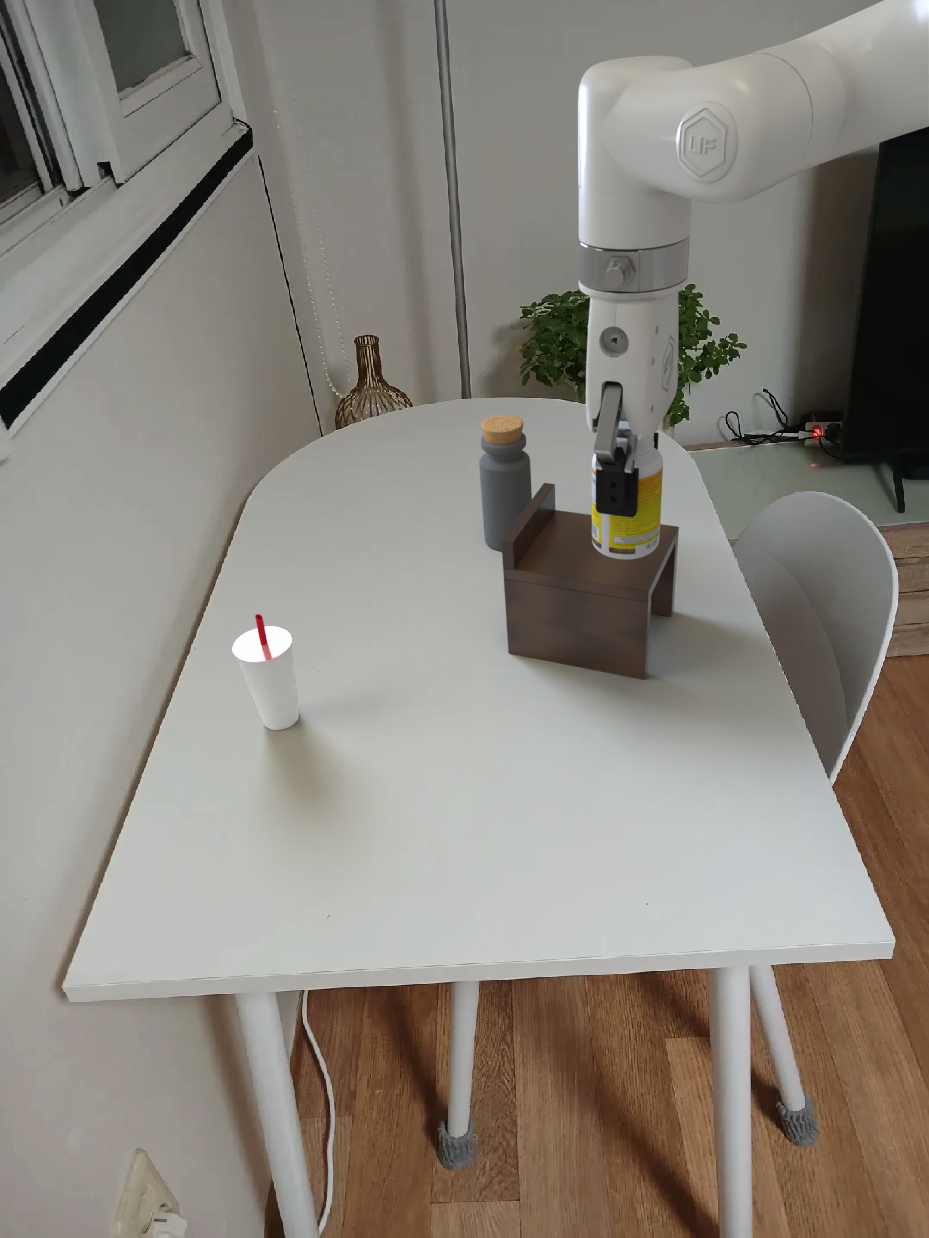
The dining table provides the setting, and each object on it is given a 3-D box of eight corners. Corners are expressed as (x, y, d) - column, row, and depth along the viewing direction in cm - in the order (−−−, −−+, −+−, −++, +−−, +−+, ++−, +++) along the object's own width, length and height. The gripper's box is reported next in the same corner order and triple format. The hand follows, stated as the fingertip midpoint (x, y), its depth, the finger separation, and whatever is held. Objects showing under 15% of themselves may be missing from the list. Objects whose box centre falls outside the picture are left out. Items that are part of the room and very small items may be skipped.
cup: (320, 716, 90) (297, 613, 83) (273, 745, 88) (245, 641, 81) (288, 692, 94) (264, 591, 87) (242, 719, 91) (213, 617, 84)
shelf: (673, 610, 100) (680, 499, 92) (644, 679, 91) (649, 563, 83) (547, 589, 105) (543, 482, 97) (508, 653, 96) (501, 540, 89)
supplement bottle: (673, 544, 79) (680, 429, 73) (627, 570, 76) (630, 453, 70) (622, 521, 83) (625, 410, 77) (577, 545, 80) (576, 432, 74)
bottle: (487, 554, 112) (478, 436, 103) (482, 529, 117) (474, 415, 108) (536, 549, 112) (532, 430, 103) (529, 524, 117) (525, 409, 108)
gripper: (658, 305, 59) (647, 555, 69) (711, 232, 71) (695, 453, 82) (542, 299, 61) (548, 541, 72) (613, 230, 74) (609, 444, 84)
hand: (626, 492), depth 77 cm, fingers closed on supplement bottle, 5 cm apart
